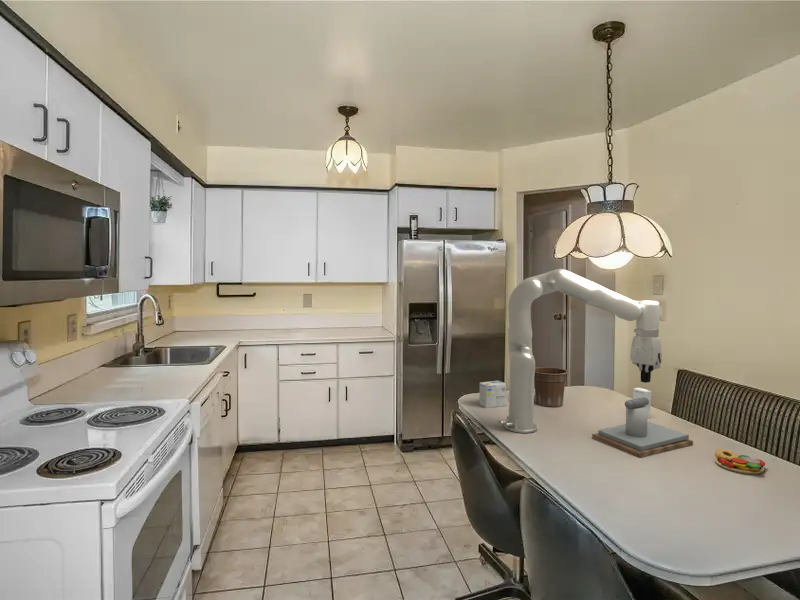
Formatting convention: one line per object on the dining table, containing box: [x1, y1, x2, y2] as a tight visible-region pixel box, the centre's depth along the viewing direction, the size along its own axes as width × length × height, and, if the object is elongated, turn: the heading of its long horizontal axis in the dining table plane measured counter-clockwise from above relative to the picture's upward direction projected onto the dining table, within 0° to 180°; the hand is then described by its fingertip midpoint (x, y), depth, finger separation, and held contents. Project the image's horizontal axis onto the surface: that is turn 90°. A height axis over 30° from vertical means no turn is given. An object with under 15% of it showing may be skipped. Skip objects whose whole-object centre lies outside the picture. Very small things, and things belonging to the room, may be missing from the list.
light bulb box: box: [479, 380, 507, 409], centre depth 214 cm, size 11×7×11 cm, turn 111°
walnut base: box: [591, 432, 694, 458], centre depth 169 cm, size 28×20×2 cm
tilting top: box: [597, 397, 690, 451], centre depth 168 cm, size 25×18×14 cm
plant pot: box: [534, 366, 569, 408], centre depth 217 cm, size 16×16×16 cm
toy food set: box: [714, 448, 766, 475], centre depth 147 cm, size 13×13×3 cm
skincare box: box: [632, 387, 652, 419], centre depth 197 cm, size 6×4×12 cm
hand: (645, 381), depth 172 cm, fingers closed
